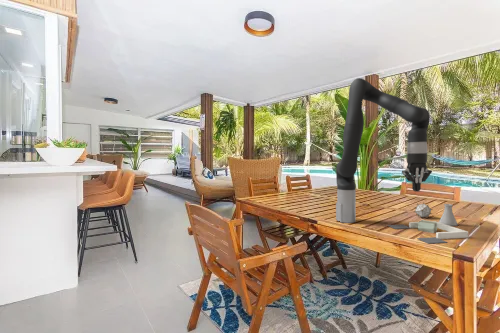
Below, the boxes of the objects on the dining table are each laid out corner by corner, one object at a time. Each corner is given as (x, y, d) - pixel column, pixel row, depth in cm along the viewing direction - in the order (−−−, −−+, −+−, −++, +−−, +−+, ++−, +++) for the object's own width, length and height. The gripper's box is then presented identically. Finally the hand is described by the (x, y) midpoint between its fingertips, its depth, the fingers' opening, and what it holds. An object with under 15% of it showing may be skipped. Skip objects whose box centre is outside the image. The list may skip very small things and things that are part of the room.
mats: (428, 243, 99) (428, 243, 99) (387, 225, 125) (387, 225, 125) (447, 242, 100) (447, 242, 100) (402, 225, 125) (402, 224, 125)
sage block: (433, 233, 112) (433, 224, 112) (418, 230, 116) (418, 222, 116) (437, 230, 116) (437, 222, 116) (421, 228, 120) (421, 219, 120)
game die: (427, 224, 138) (438, 212, 132) (411, 219, 139) (421, 206, 133) (424, 213, 145) (434, 202, 138) (408, 208, 146) (418, 196, 140)
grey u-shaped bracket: (438, 239, 104) (438, 233, 104) (409, 227, 121) (409, 222, 121) (468, 237, 105) (468, 231, 105) (435, 226, 122) (435, 221, 122)
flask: (435, 222, 128) (435, 203, 128) (448, 222, 129) (448, 202, 129) (447, 226, 121) (447, 206, 121) (461, 226, 122) (461, 205, 121)
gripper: (408, 152, 107) (408, 192, 108) (437, 152, 108) (437, 192, 109) (397, 152, 114) (396, 190, 115) (424, 152, 115) (424, 189, 116)
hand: (416, 191), depth 112 cm, fingers closed
